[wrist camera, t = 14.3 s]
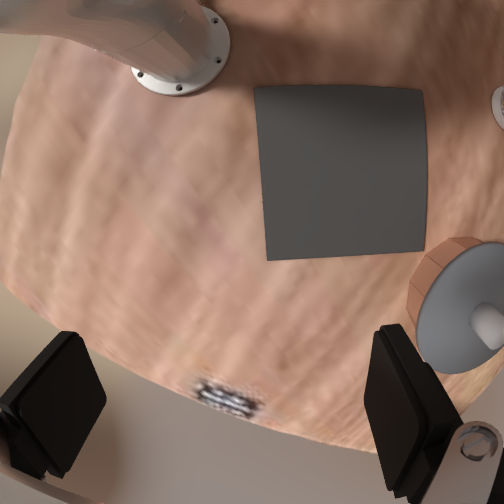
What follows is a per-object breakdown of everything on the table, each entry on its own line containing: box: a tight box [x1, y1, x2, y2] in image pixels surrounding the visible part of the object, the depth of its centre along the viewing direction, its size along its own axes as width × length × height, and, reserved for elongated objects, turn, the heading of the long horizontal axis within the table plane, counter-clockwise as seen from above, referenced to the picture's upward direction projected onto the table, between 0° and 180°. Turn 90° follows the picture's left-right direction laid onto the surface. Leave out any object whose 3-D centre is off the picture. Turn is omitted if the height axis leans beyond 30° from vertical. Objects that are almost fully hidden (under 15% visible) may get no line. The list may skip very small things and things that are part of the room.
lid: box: [416, 242, 504, 374], centre depth 30 cm, size 19×19×6 cm
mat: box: [254, 85, 427, 261], centre depth 36 cm, size 21×21×1 cm
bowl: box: [406, 237, 482, 329], centre depth 37 cm, size 16×16×7 cm
